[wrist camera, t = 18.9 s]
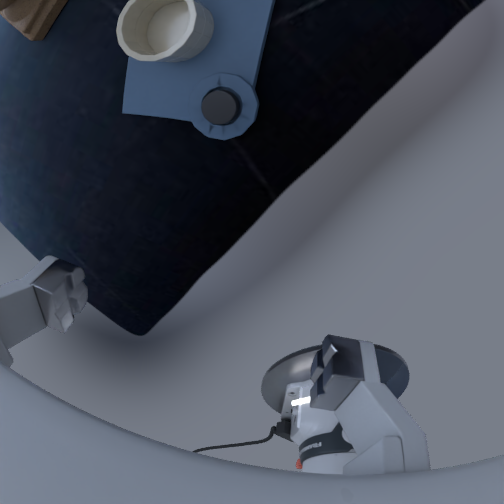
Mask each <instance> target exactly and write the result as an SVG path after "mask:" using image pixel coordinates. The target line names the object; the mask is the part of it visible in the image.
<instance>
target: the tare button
mask: <svg viewBox="0 0 504 504" xmlns="http://www.w3.org/2000/svg"><path fill="white" fill-rule="evenodd" d="M201 109H202V113H203V116H204V117H205V118H206V119H207V120H208V121H209V122H211V123H213V124H225V123H227V122H229V121H230V120H232V119H233V118H234V117H235V116H236V115H237V113H238V110H239V102H238V99H237V97H236V96H235V95H234V94H233V93H231V92H230V91H227V90H218V91H214V92H211V93H209V94H208V95H207V96H206V97H205V98H204V100H203V102H202V107H201Z"/></svg>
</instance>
